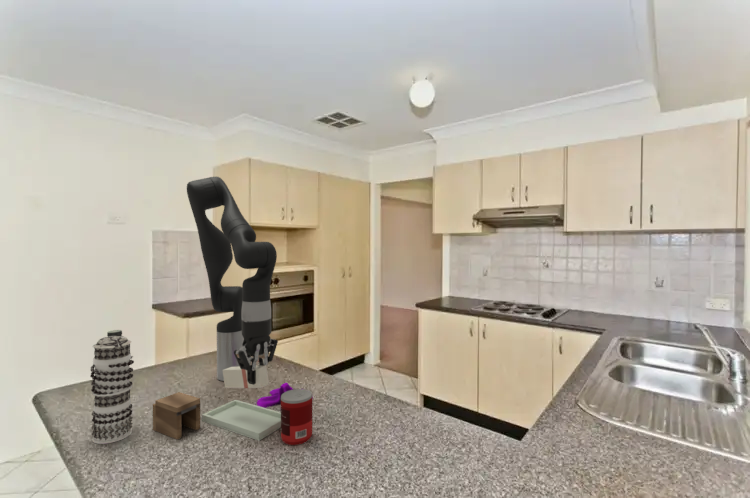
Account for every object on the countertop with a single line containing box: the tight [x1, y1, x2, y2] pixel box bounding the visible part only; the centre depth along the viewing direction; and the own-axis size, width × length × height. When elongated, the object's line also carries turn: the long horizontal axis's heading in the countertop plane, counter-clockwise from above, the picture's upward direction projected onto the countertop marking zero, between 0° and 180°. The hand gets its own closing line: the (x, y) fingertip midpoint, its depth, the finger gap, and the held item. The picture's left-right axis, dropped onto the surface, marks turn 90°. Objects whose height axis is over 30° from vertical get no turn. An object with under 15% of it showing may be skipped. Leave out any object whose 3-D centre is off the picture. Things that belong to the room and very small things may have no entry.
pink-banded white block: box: [222, 364, 270, 389], centre depth 104 cm, size 3×14×5 cm, turn 61°
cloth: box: [256, 382, 314, 410], centre depth 120 cm, size 22×19×6 cm
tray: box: [201, 399, 281, 442], centre depth 105 cm, size 12×22×2 cm, turn 61°
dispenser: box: [152, 391, 201, 440], centre depth 101 cm, size 7×10×8 cm, turn 61°
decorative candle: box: [90, 335, 135, 445], centre depth 97 cm, size 9×9×25 cm
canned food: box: [280, 388, 313, 446], centre depth 97 cm, size 8×8×11 cm
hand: (257, 381), depth 102 cm, fingers closed on pink-banded white block, 2 cm apart
